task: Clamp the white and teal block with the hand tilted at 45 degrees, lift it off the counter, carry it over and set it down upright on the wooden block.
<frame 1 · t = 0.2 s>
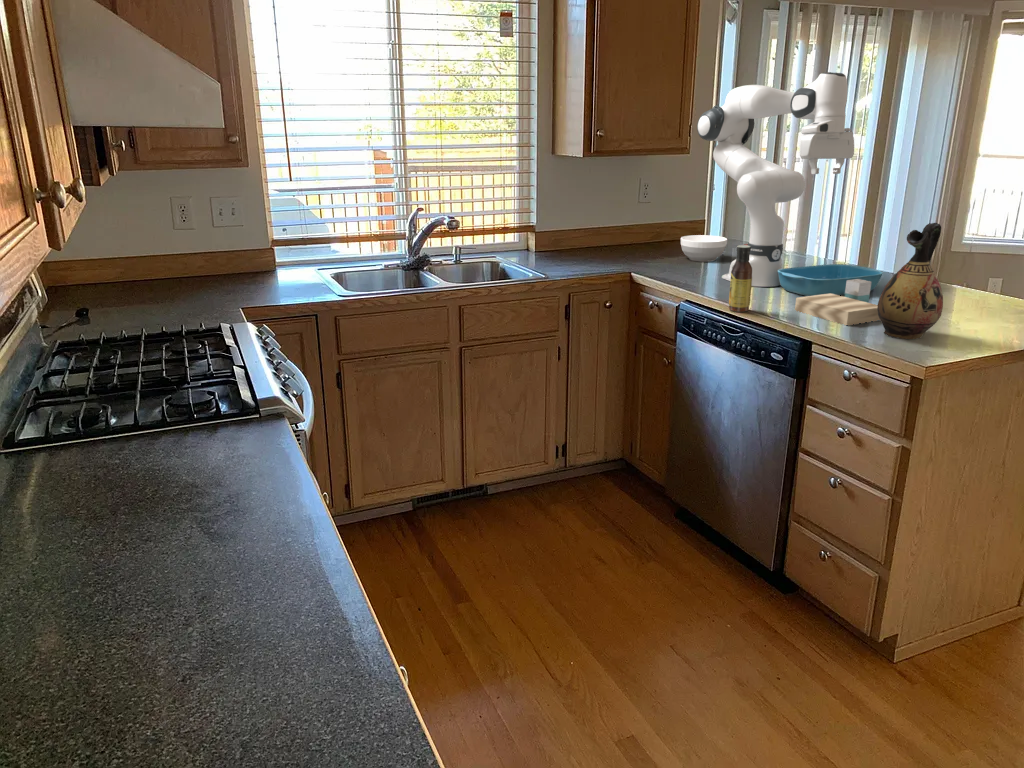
hand: (825, 174, 236), 39 cm above the countertop, tool pointing down, fingers open, 8 cm apart
casserole dish: (827, 291, 258), on the countertop
white and teal block: (855, 306, 236), on the countertop
sauce bottle: (738, 311, 232), on the countertop
bowl: (702, 259, 316), on the countertop
ceramic jug: (906, 335, 205), on the countertop
wooden block: (837, 315, 225), on the countertop
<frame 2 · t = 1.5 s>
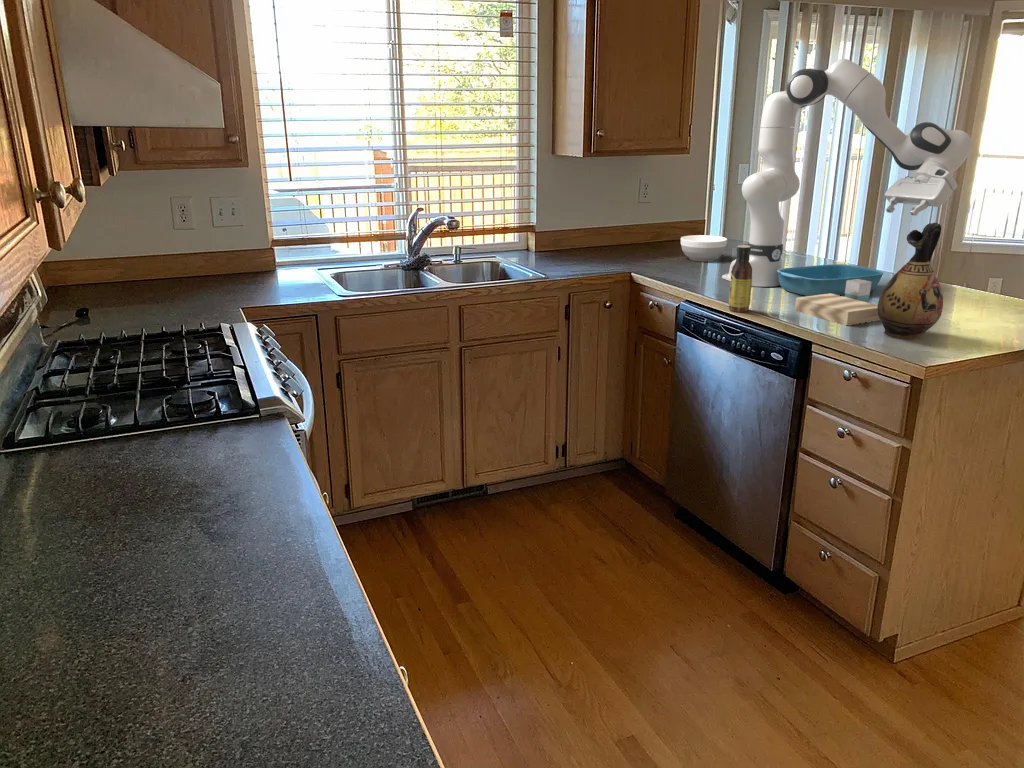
hand: (900, 212, 230), 28 cm above the countertop, tool tilted 45°, fingers open, 8 cm apart
nothing on the countertop moved.
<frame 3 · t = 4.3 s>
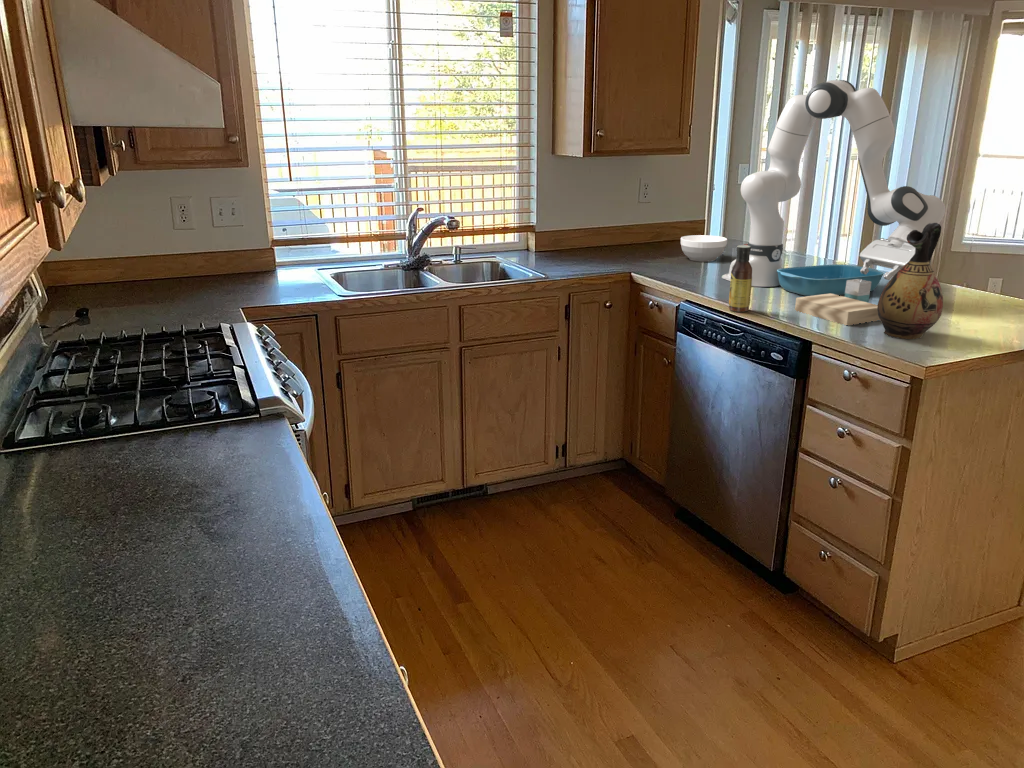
hand: (874, 275, 235), 9 cm above the countertop, tool tilted 45°, fingers open, 8 cm apart
nothing on the countertop moved.
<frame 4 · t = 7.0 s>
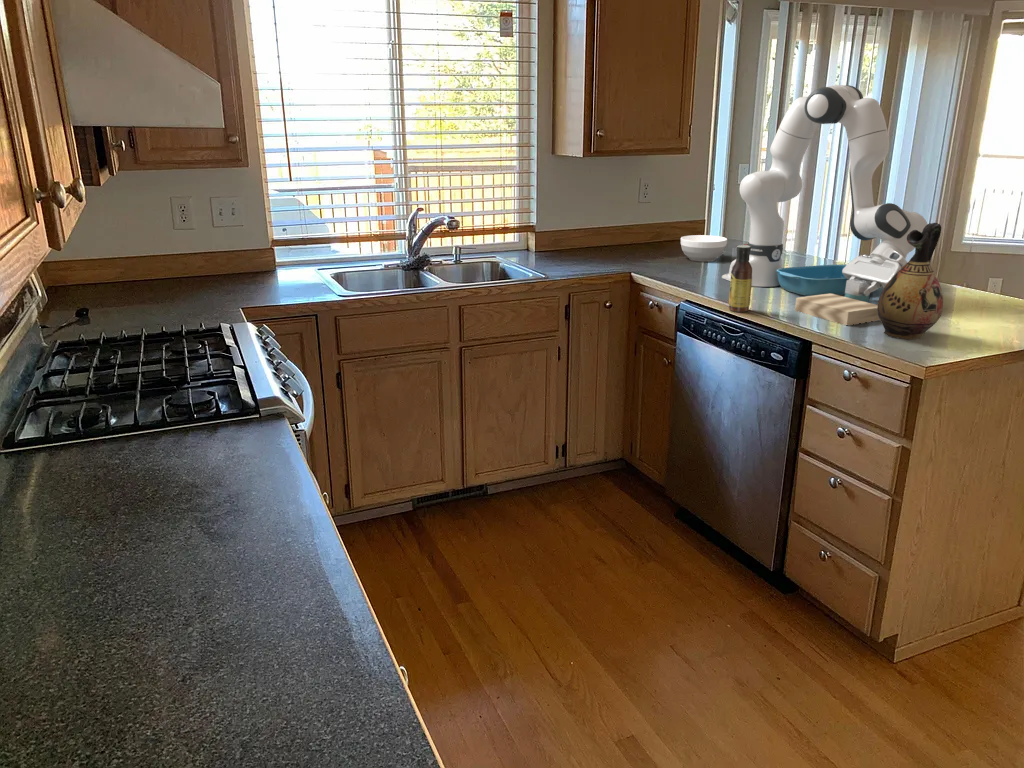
hand: (855, 292, 234), 4 cm above the countertop, tool tilted 45°, fingers closed on white and teal block, 5 cm apart
white and teal block: (855, 306, 236), on the countertop, touching gripper
everything else where it was.
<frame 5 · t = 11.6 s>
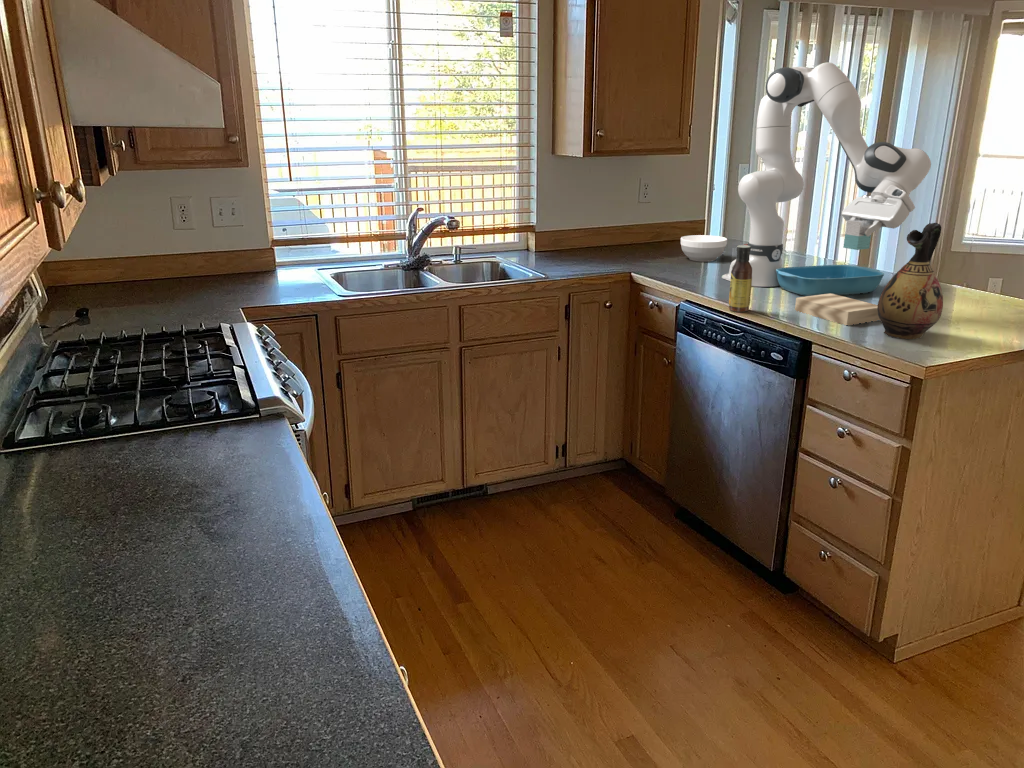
hand: (856, 233, 222), 24 cm above the countertop, tool tilted 45°, fingers closed on white and teal block, 5 cm apart
white and teal block: (856, 248, 224), point 19 cm above the countertop, touching gripper
when the fingers open (10 cm above the countertop, at t = 16.6 s): white and teal block drops 1 cm, resting on wooden block.
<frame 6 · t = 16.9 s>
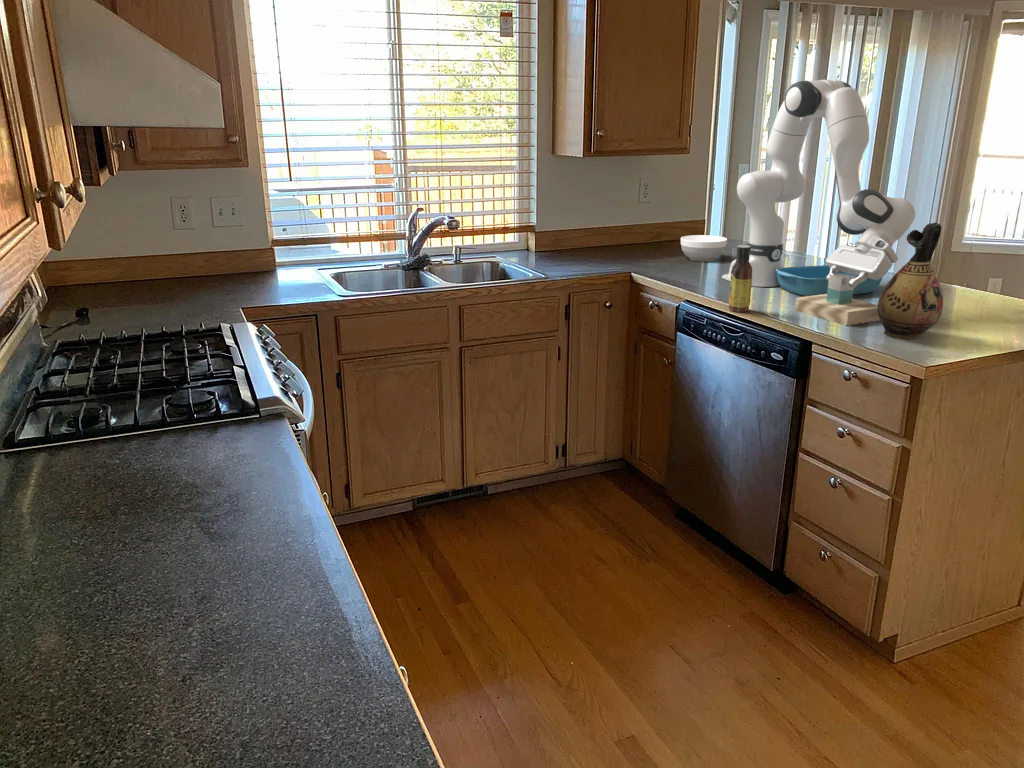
hand: (839, 282, 222), 10 cm above the countertop, tool tilted 45°, fingers open, 8 cm apart
white and teal block: (838, 302, 224), point 4 cm above the countertop, touching wooden block
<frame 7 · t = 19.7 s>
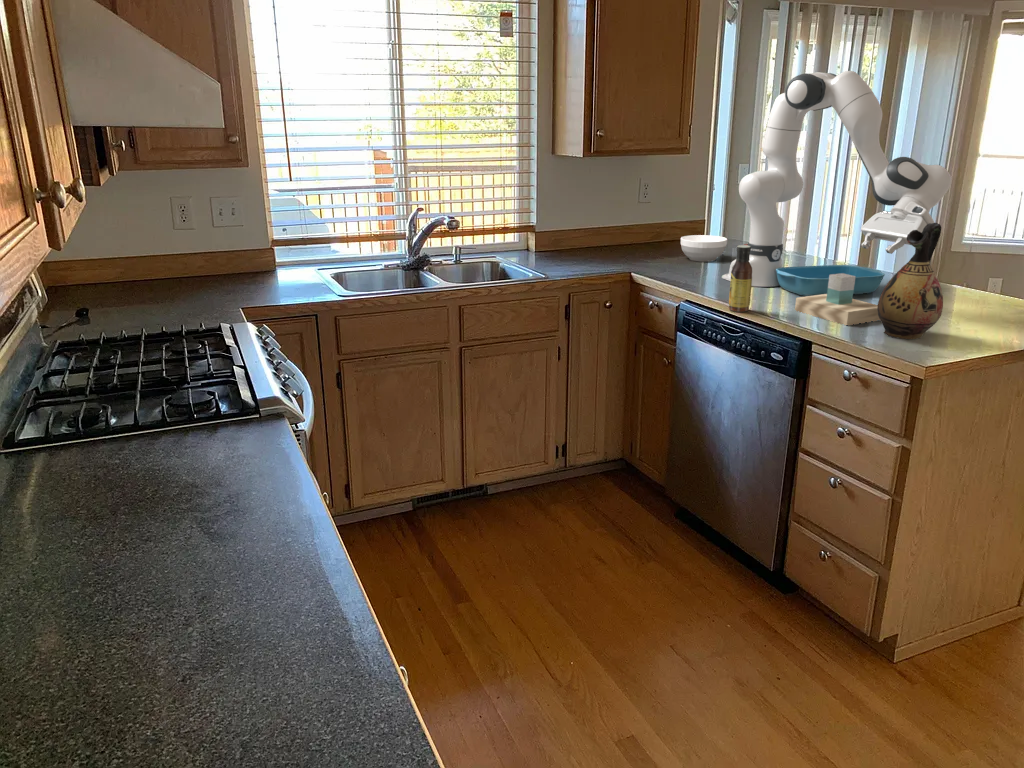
hand: (875, 249, 223), 19 cm above the countertop, tool tilted 45°, fingers open, 8 cm apart
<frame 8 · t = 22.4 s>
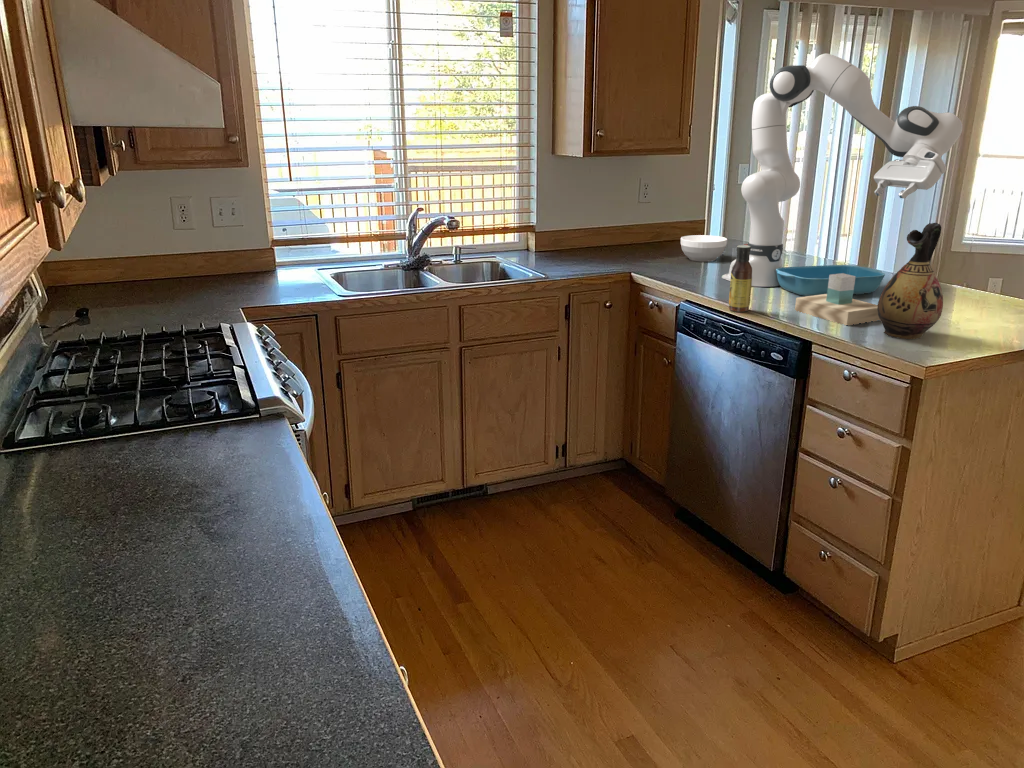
hand: (888, 195, 228), 33 cm above the countertop, tool tilted 45°, fingers open, 8 cm apart
nothing on the countertop moved.
at the end: white and teal block inside the target area on the wooden block (0.1 cm from its centre), point 4.0 cm above the wooden block's base; white and teal block tilted 0°; the gripper is holding nothing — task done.
